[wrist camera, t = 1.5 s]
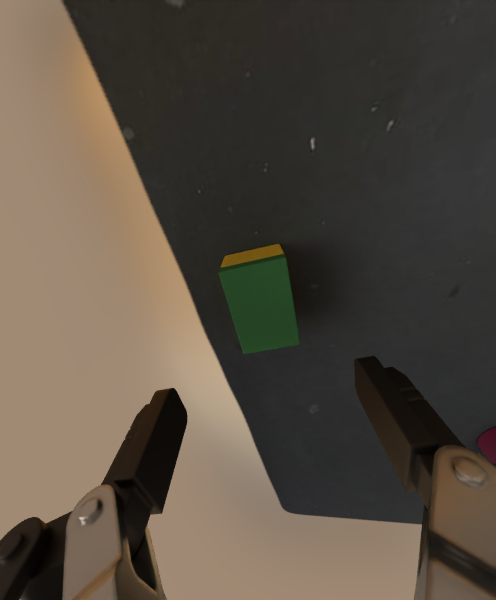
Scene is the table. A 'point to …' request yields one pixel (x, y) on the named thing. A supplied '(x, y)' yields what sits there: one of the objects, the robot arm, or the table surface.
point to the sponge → (260, 298)
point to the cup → (488, 444)
